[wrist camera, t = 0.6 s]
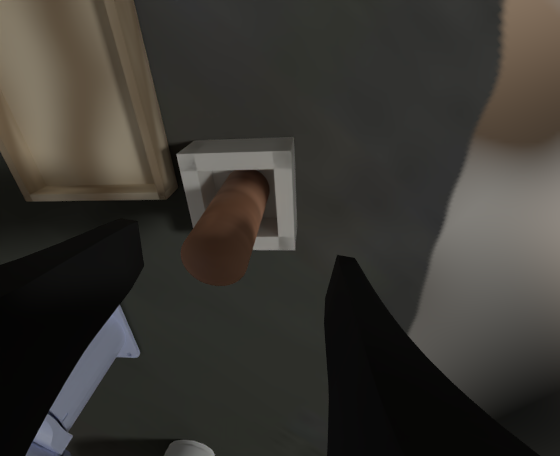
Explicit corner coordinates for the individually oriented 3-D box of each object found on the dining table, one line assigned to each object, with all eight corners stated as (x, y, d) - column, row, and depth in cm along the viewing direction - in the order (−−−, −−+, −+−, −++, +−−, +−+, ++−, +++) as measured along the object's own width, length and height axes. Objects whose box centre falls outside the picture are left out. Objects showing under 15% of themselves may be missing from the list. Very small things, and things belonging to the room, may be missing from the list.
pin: (228, 209, 21) (188, 285, 14) (222, 167, 20) (173, 230, 13) (271, 208, 21) (251, 286, 14) (267, 166, 20) (243, 230, 13)
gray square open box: (211, 227, 23) (198, 249, 20) (194, 140, 20) (176, 154, 17) (297, 226, 22) (295, 250, 20) (293, 136, 19) (291, 150, 16)
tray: (48, 189, 23) (26, 201, 21) (-49, -17, 17) (-91, -24, 15) (178, 187, 21) (166, 199, 20) (125, -35, 15) (102, -45, 14)
